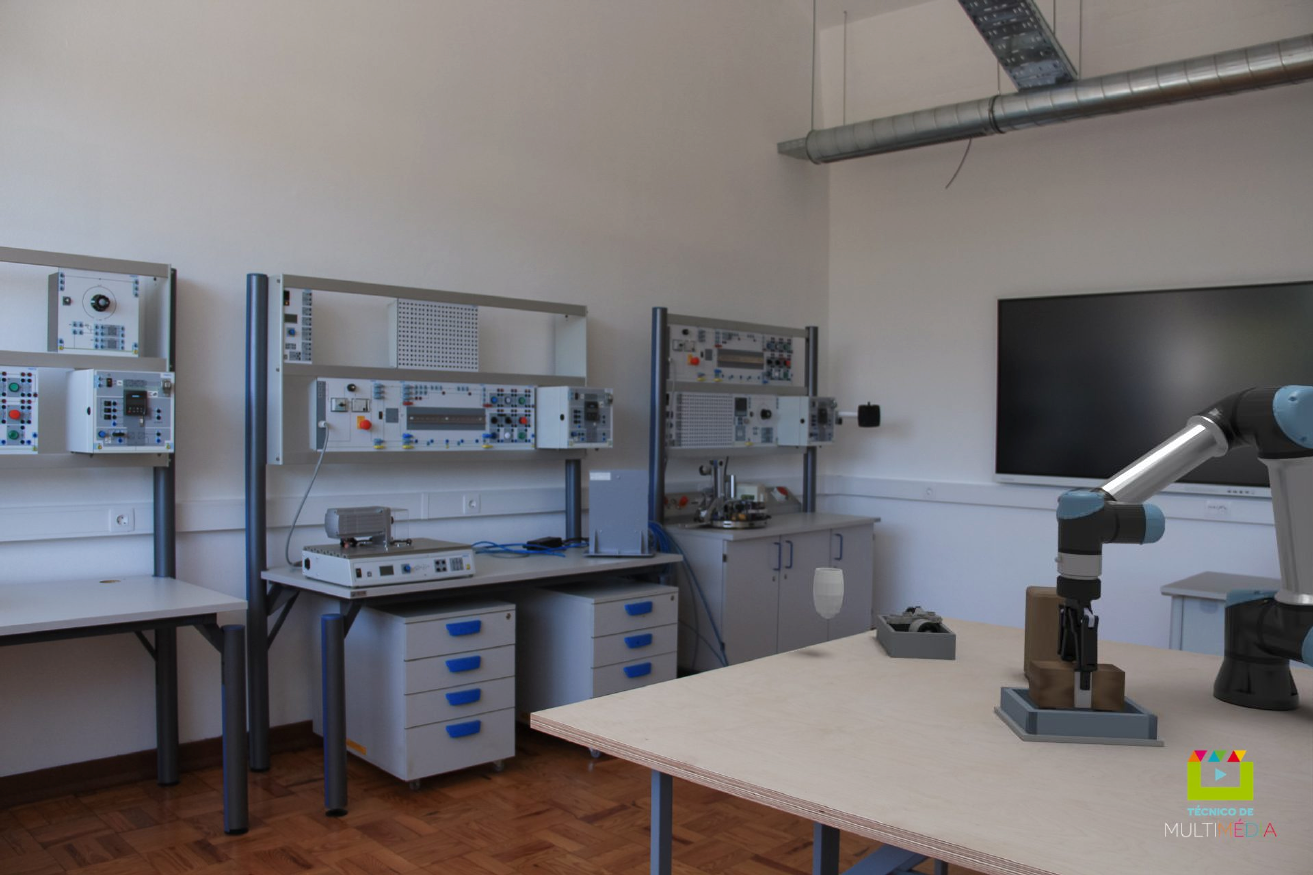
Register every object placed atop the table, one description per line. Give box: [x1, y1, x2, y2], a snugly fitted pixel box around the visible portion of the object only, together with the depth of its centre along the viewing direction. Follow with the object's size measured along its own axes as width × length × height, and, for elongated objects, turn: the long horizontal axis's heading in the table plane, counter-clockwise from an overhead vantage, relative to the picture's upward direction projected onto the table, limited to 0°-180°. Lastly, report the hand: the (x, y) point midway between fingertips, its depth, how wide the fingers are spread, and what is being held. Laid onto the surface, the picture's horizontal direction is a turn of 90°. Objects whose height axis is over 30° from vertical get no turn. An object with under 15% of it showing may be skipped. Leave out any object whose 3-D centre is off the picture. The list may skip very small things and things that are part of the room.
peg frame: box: [993, 686, 1165, 747], centre depth 181 cm, size 24×18×5 cm
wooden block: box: [1023, 585, 1077, 680], centre depth 216 cm, size 10×10×20 cm
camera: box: [886, 605, 944, 633], centre depth 245 cm, size 16×9×10 cm, turn 106°
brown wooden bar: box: [1028, 661, 1126, 711], centre depth 181 cm, size 15×6×7 cm, turn 86°
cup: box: [812, 567, 845, 620], centre depth 234 cm, size 7×7×21 cm
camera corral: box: [875, 614, 957, 661], centre depth 245 cm, size 15×22×6 cm
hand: (1075, 701), depth 181 cm, fingers closed on brown wooden bar, 6 cm apart
